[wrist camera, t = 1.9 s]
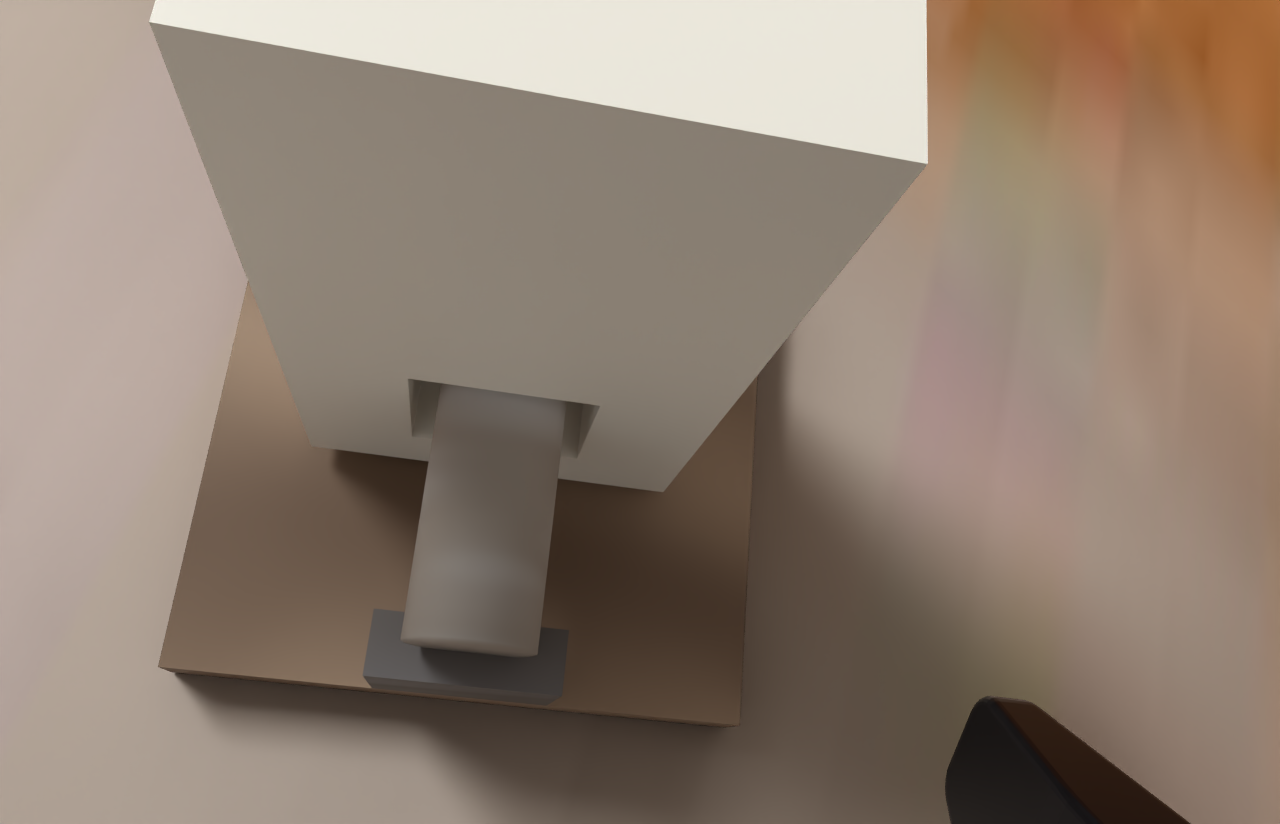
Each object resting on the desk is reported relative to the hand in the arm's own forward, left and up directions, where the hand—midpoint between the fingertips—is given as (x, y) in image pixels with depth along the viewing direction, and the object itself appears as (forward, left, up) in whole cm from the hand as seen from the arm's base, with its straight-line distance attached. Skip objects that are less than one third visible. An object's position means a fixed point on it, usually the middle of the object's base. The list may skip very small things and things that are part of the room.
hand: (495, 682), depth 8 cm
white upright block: (+2, +6, -10) cm, 12 cm away
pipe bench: (+3, +9, -11) cm, 15 cm away
